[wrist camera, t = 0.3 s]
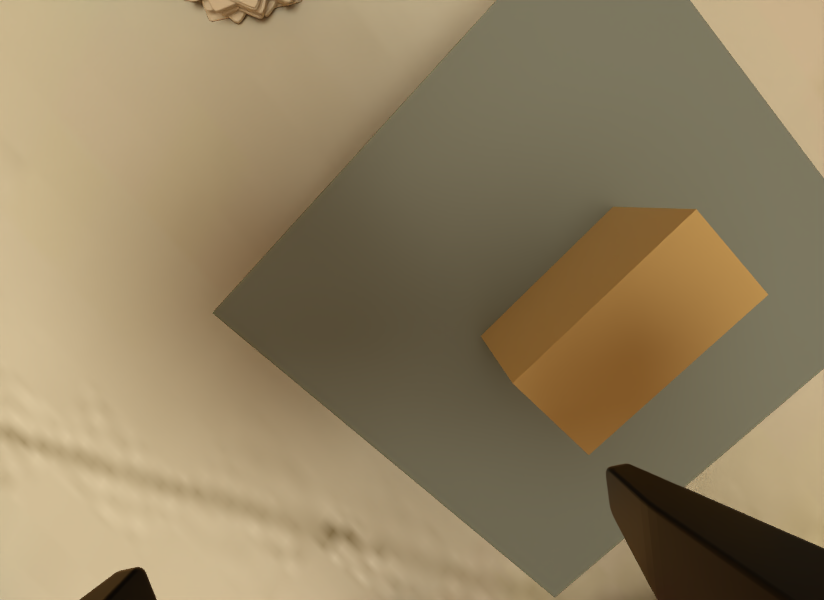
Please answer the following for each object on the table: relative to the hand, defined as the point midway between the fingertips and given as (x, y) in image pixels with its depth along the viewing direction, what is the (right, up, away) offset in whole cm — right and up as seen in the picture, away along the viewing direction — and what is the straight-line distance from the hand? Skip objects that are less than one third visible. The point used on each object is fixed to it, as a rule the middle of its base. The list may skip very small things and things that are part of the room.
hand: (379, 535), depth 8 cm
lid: (+6, +5, +8) cm, 11 cm away
